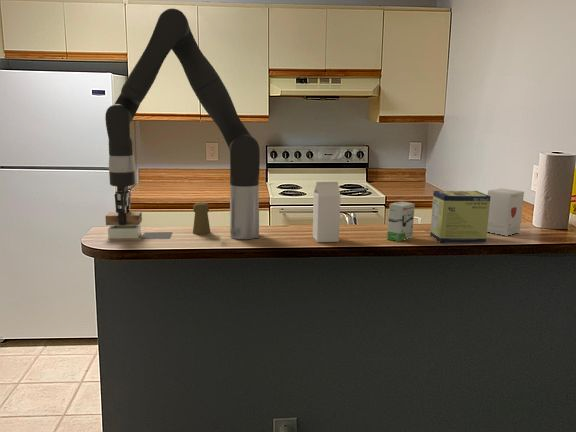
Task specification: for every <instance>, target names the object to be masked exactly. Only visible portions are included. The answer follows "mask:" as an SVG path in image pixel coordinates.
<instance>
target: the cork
mask: <svg viewBox="0 0 576 432" xmlns="http://www.w3.org/2000/svg"><path fill="white" fill-rule="evenodd" d="M192 210H193V213H194V218H193V219H194V220H193V227H192V234H193V235H197V236H205V235H210V234H211V227H210V220H209V211H210V206H209V204H208V203H207V202H202V201H201V202H196V203H194V204H193V207H192Z"/></svg>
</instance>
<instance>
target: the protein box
mask: <svg viewBox="0 0 576 432" xmlns="http://www.w3.org/2000/svg"><path fill="white" fill-rule="evenodd" d="M432 193H433V195H432V196H433V197H432V205H431V221H430V232H429V233H430V234H429V235H431V236H430V237H432V236H433V237H434V239H435V238H436V239H437V240H438V241H437V240H436V239H435V240H436V241H437V242H439V241H440V242H486V243H487V237H488V236H487V234H488V232H487V227H488V217H489V207H490V197H491V196H488V194H485V193H484V192H481V191H478V190H433V192H432ZM433 237H432V238H433ZM440 242H439V243H440Z"/></svg>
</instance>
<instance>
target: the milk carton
mask: <svg viewBox="0 0 576 432" xmlns="http://www.w3.org/2000/svg"><path fill="white" fill-rule="evenodd" d="M315 183H316V184H315V186H314V187H315V188H314V189H313V190H314V191H313V205H312V206H313V207H312V208H313V211H312V213H313V214H312V237H313V239H314V240H315V241H316V243H339V242H340V222H341V221H340V220H341V219H340V218H341V197H342V196H341V192H340V187H339V181H316V182H315Z"/></svg>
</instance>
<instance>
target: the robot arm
mask: <svg viewBox="0 0 576 432" xmlns="http://www.w3.org/2000/svg"><path fill="white" fill-rule="evenodd" d="M157 17H158V18H157V21H156V23H155V27H154V29H153V32H152V34H151V37H150V39H149V41H148V43H147V44H146V47H145V49H144V51H143V53H142V54H141V56H140V58H139V59H138V60H137V62H136V64H135V66H133V69H132V70H131V71H130V73H129V75H128V76H127V78H126V79H125V82H124V83H123V85H122V87H121V90H120V91H121V92H120V94H119V96H118V97H117V98H116V101H115V102H114V104H112V105H110V106H109V107H108V108H107V109H106V112H105V117H104V118H105V127H106V132H107V133H106V134H107V137H108V155H109V156H108V175H109V185H110V186H112V187H117V188H116V191H115V193H114V204H115V212H116V213H118V221H119V225H126V212H131V211H130V209H131V206H132V201H131V200H132V199H131V198H132V197H131V196H132V195H131V194H132V192H131V191H132V188H131V187H132V186H135V184H136V177H135V176H136V175H135V174H136V173H135V159H134V154H133V153H134V150H133V149H134V148H133V141H132V138H131V129H130V128H131V127H130V125H131V122H132V121H133V119H134V118H135V116H136V113H137V111H138V109H139V107H140V105H141V103H142V102H143V100H144V99H145V98H146V97H147V94H148V93H149V91H150V89H151V88H152V86H153V84H154V82H155V80H156V79H157V76H158V74H159V72H160V69H161V68H162V65H163V63H164V61H165V60H166V58H167V57H168V55H169V53H170V52H171V51H172V52H173V54H175V56H176V58H177V60H178V61H179V63H180V65H181V66H182V69H183V71H184V73H185V76H186V78H187V81H188V83H189V86H190V87H191V89H192V91H193V92H194V94H195V96H196V98H197V99H198V101H199V103H200V104H201V107H203V108H204V110H205V113H207V114H208V116H209V117H210V118H211V120H212V121H213V122H214V123H215V124H216V126H217V128H218V130H219V131H220V132H221V134H222V136H223V139H224V140H225V144H226V145H227V147H228V149H229V160H230V165H229V167H230V168H229V169H230V171H229V199H230V203H229V212H230V213H229V215H230V216H229V217H230V219H229V222H230V223H229V224H230V227H229V228H230V231H229V233H230V238H232V239H237V240H251V239H259V238H260V209H259V207H260V206H259V204H260V203H259V202H260V201H259V199H260V198H259V197H260V195H259V194H260V193H259V188H260V187H259V186H260V185H259V184H260V183H259V182H260V166H261V162H260V159H261V158H260V156H261V155H260V154H261V153H260V152H261V151H260V145H259V142H258V141H257V139H255V137H254V136H252V135H251V133H250V132H249V131H248V129H247V127H246V126H245V124H244V123H243V122H242V120H241V119H240V117H239V115H238V112H237V110H236V108H235V105H234V102H233V99H232V98H231V95H230V93H229V91H228V90H227V87H226V86H225V84H224V82H223V81H222V79H221V76H220V75H219V73H218V72H217V71H216V69H215V68H214V66H213V65H212V64H211V63H210V61H209V60H208V59H207V58H206V56H205V55H204V54H203V52H202V50H201V49H200V47H199V45H198V44H197V42H196V39H195V36H194V35H193V33H192V29H191V28H190V27H191V26H190V25H189V20H188V18H187V16H186V15H185V13H184V12H183V11H181V10H180V9H176V8H167V9H165V10H163V11H162V12H161V13H160V14H159V16H157ZM120 207H121V208H120Z"/></svg>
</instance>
